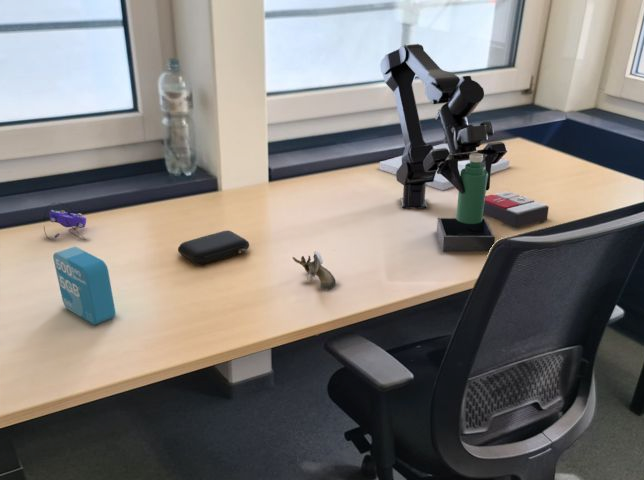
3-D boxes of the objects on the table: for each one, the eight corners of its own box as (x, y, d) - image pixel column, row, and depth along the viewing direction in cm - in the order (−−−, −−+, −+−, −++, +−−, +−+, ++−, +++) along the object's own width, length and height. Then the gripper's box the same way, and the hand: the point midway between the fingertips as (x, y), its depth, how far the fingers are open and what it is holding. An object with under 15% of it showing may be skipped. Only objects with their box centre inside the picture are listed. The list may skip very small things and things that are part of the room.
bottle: (454, 213, 175) (460, 150, 167) (480, 214, 175) (487, 150, 167) (458, 223, 170) (464, 159, 162) (484, 224, 170) (492, 159, 162)
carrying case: (199, 270, 163) (256, 253, 171) (198, 257, 161) (255, 240, 169) (175, 254, 170) (230, 238, 178) (173, 242, 168) (229, 226, 176)
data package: (63, 307, 149) (51, 250, 142) (83, 299, 151) (72, 244, 145) (96, 327, 142) (85, 269, 135) (117, 319, 145) (107, 262, 138)
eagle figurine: (285, 275, 159) (308, 283, 152) (297, 243, 158) (321, 249, 151) (312, 286, 164) (336, 294, 157) (324, 255, 163) (348, 262, 156)
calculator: (507, 189, 197) (549, 203, 186) (506, 205, 200) (547, 220, 189) (475, 196, 192) (517, 211, 181) (474, 212, 195) (515, 228, 184)
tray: (436, 233, 181) (437, 217, 179) (484, 233, 182) (486, 217, 179) (442, 253, 172) (443, 236, 169) (493, 253, 172) (495, 236, 170)
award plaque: (379, 169, 222) (379, 162, 221) (445, 149, 239) (446, 142, 238) (442, 190, 207) (443, 182, 206) (508, 167, 224) (509, 160, 223)
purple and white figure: (91, 208, 184) (89, 214, 175) (86, 240, 186) (84, 248, 177) (48, 198, 180) (44, 204, 171) (44, 232, 183) (39, 239, 174)
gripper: (433, 112, 159) (453, 179, 157) (508, 104, 165) (529, 169, 163) (414, 139, 170) (432, 202, 167) (486, 131, 176) (505, 192, 173)
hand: (475, 191), depth 167 cm, fingers closed on bottle, 6 cm apart
